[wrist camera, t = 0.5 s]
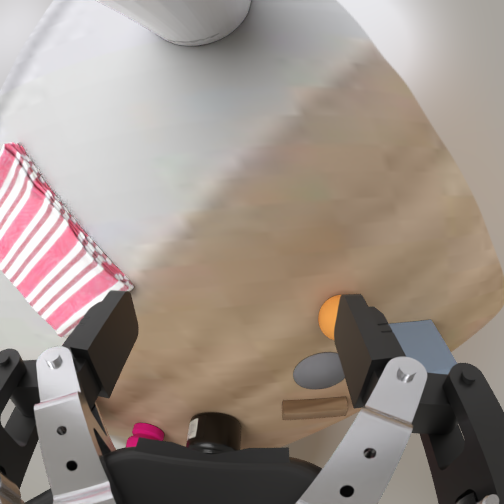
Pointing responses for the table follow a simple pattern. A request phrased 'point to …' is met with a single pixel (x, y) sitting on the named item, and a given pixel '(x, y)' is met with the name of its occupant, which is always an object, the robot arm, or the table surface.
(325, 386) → the gray ellipsoid
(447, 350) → the blue gray block
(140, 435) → the pepper mill
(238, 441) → the ink bottle
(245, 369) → the table surface
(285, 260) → the table surface
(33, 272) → the dish towel
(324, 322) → the ball
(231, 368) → the table surface
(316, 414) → the strip
